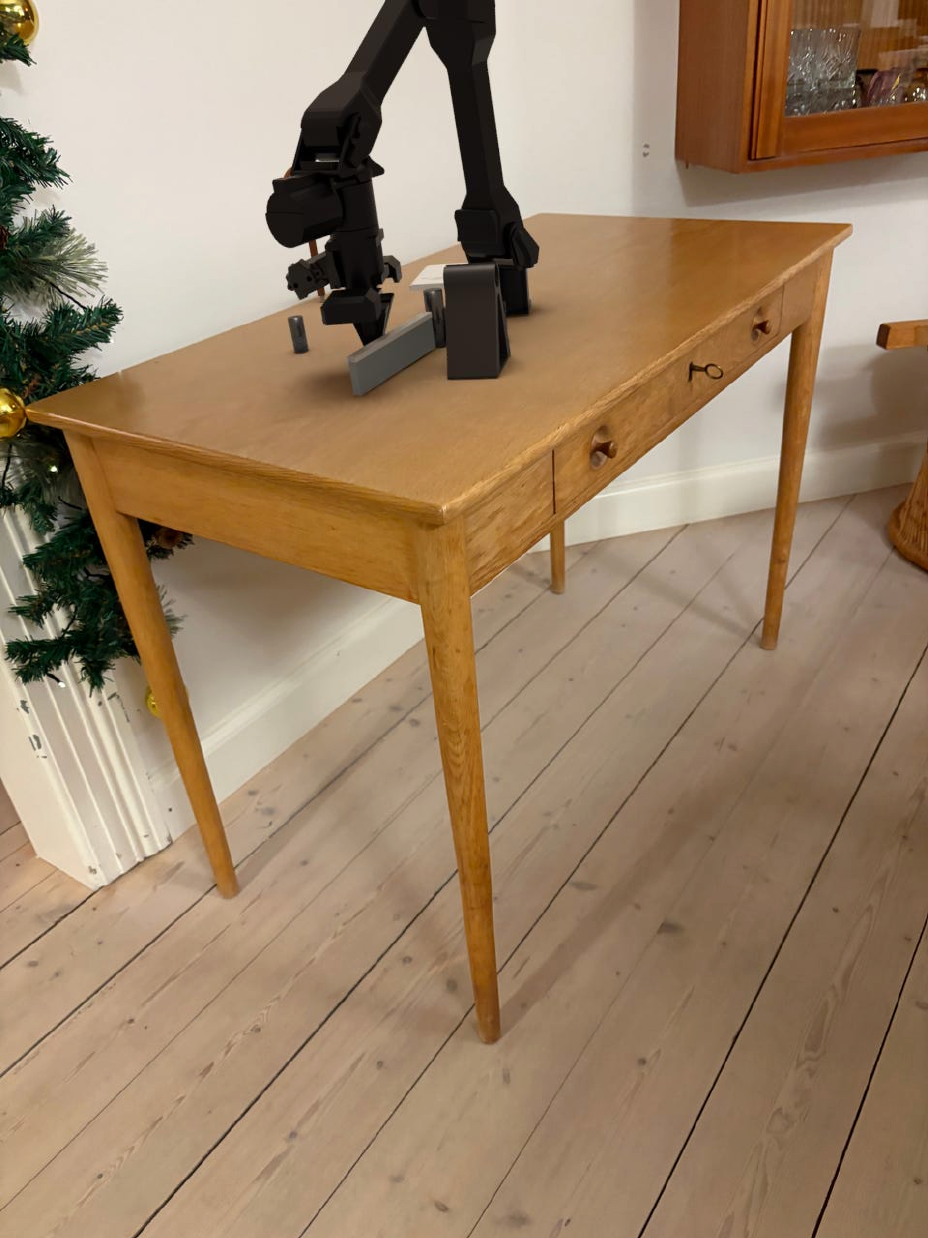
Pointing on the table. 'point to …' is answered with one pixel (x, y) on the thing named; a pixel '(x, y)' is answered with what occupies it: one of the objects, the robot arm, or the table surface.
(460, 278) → the phone stand
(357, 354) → the grey flat bar
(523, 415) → the table surface
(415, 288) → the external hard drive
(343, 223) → the robot arm
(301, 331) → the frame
